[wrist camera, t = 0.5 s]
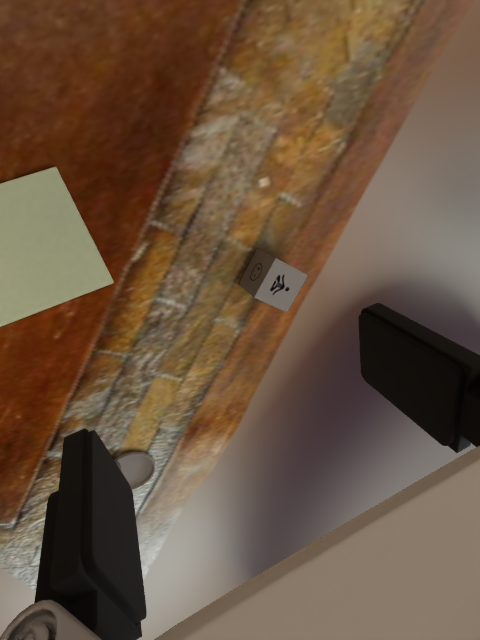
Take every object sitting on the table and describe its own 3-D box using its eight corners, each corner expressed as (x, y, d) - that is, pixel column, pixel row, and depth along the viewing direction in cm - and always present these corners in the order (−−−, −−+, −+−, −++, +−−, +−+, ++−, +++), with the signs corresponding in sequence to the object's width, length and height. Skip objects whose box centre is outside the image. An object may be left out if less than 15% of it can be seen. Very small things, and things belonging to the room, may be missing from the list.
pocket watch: (156, 476, 51) (168, 539, 42) (96, 494, 48) (96, 566, 40) (150, 435, 47) (162, 495, 39) (85, 452, 45) (83, 521, 36)
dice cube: (257, 247, 42) (275, 258, 38) (287, 264, 44) (307, 275, 40) (238, 283, 43) (254, 297, 39) (268, 297, 45) (286, 312, 41)
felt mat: (-113, 217, 28) (-115, 218, 28) (55, 166, 31) (55, 166, 31) (-21, 333, 34) (-22, 335, 34) (113, 282, 37) (113, 282, 37)
